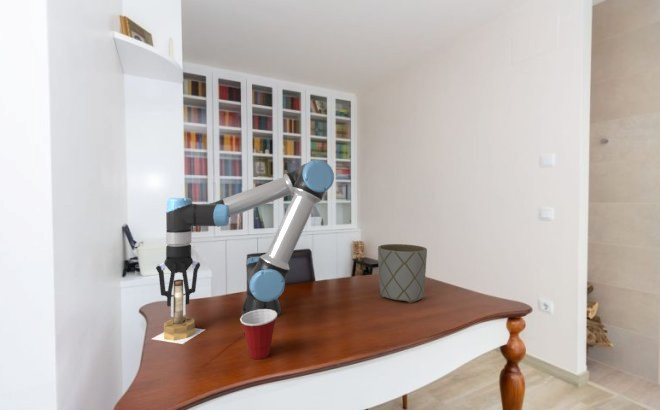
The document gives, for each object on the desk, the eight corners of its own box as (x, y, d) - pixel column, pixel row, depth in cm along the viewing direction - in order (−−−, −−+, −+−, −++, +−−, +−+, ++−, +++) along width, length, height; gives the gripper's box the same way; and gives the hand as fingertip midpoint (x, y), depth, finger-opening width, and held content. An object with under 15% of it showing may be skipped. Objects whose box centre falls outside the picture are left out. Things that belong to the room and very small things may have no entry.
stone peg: (185, 332, 106) (185, 279, 105) (179, 336, 103) (178, 281, 103) (178, 331, 107) (177, 279, 106) (171, 335, 104) (171, 281, 103)
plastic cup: (234, 352, 95) (234, 313, 94) (267, 343, 101) (267, 306, 101) (248, 368, 86) (248, 325, 86) (283, 356, 93) (283, 316, 92)
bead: (199, 330, 108) (199, 318, 108) (180, 341, 99) (180, 329, 99) (178, 327, 110) (177, 315, 110) (157, 338, 102) (157, 325, 102)
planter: (431, 294, 154) (432, 246, 154) (417, 307, 135) (418, 253, 134) (388, 286, 166) (388, 242, 166) (369, 298, 147) (370, 248, 147)
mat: (205, 332, 109) (205, 329, 108) (182, 347, 98) (182, 343, 98) (176, 328, 112) (176, 325, 112) (151, 341, 101) (151, 338, 101)
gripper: (204, 241, 111) (203, 308, 111) (152, 243, 104) (152, 314, 105) (205, 244, 104) (204, 315, 104) (150, 247, 97) (149, 322, 98)
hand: (178, 314), depth 105 cm, fingers closed on stone peg, 3 cm apart
